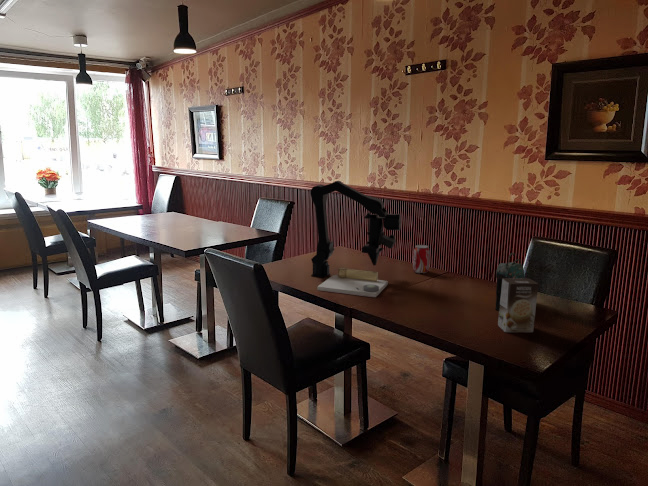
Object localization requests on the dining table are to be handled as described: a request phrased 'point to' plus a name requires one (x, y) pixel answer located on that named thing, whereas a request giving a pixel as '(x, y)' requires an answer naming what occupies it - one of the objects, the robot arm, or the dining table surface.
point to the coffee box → (517, 304)
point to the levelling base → (353, 286)
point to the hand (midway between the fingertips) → (374, 265)
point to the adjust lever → (357, 274)
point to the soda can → (421, 259)
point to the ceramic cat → (507, 276)
